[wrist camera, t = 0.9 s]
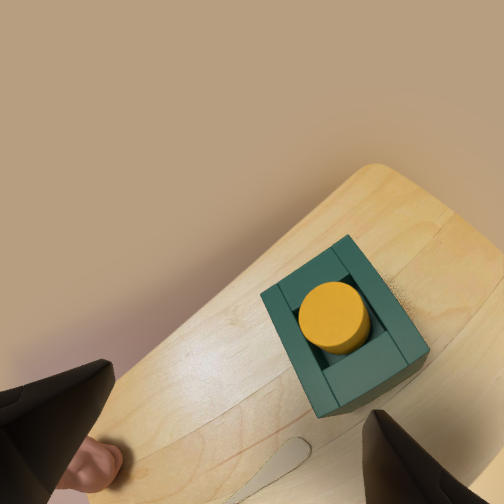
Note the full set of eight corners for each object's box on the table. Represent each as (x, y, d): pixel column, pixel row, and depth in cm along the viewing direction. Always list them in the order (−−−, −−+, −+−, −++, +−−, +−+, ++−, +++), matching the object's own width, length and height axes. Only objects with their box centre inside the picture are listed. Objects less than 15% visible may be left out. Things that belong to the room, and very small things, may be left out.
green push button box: (421, 368, 19) (430, 349, 12) (349, 412, 21) (317, 418, 14) (369, 287, 25) (348, 233, 18) (306, 328, 26) (259, 293, 19)
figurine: (144, 480, 25) (58, 479, 17) (105, 497, 26) (32, 494, 17) (121, 422, 31) (43, 407, 22) (87, 448, 32) (19, 436, 23)
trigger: (381, 333, 15) (376, 321, 13) (329, 366, 16) (315, 359, 14) (352, 287, 18) (342, 268, 16) (305, 318, 18) (287, 304, 16)
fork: (322, 450, 22) (316, 452, 20) (183, 545, 19) (168, 550, 17) (302, 431, 24) (294, 431, 22) (170, 528, 21) (154, 531, 19)
